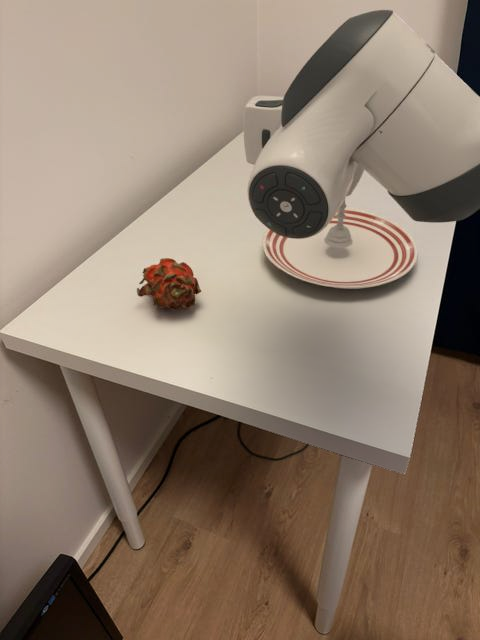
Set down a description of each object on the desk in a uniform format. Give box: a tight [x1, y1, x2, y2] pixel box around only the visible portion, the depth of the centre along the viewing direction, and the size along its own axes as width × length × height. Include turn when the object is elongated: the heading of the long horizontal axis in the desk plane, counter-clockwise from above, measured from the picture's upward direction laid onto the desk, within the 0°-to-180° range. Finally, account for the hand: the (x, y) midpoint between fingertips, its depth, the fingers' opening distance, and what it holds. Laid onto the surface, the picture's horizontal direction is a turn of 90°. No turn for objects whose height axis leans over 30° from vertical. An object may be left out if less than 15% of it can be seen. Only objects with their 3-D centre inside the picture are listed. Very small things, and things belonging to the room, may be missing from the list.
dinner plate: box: [261, 207, 419, 290], centre depth 88 cm, size 28×27×3 cm
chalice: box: [324, 165, 365, 248], centre depth 81 cm, size 7×7×18 cm
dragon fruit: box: [136, 257, 202, 311], centre depth 78 cm, size 8×8×12 cm
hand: (342, 103), depth 61 cm, fingers open, 8 cm apart
